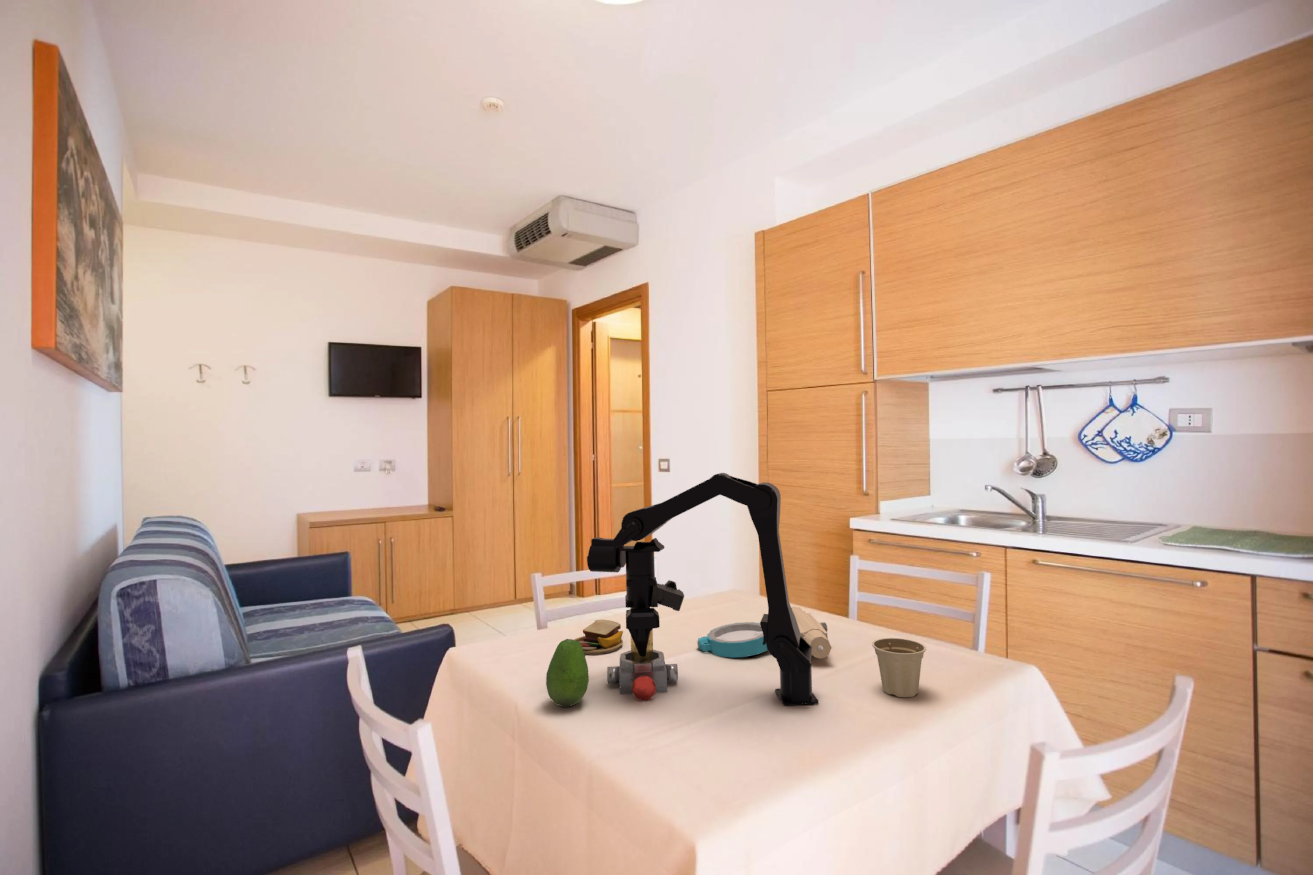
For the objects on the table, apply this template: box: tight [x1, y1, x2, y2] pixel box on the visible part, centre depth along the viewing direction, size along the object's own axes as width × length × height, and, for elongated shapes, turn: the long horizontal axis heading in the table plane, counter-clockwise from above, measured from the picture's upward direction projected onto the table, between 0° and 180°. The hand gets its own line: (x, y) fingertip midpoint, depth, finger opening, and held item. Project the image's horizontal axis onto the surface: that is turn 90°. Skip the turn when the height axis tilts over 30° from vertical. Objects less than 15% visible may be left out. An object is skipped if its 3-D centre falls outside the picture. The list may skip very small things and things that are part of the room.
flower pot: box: [871, 637, 927, 698], centre depth 116 cm, size 9×9×9 cm
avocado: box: [545, 638, 590, 707], centre depth 114 cm, size 8×8×12 cm
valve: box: [606, 649, 679, 702], centre depth 121 cm, size 13×14×6 cm
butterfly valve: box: [696, 605, 832, 659], centre depth 142 cm, size 27×7×30 cm
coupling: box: [630, 629, 654, 662], centre depth 122 cm, size 4×4×6 cm
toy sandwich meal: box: [573, 619, 624, 655], centre depth 146 cm, size 12×14×5 cm
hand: (642, 652), depth 122 cm, fingers closed on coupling, 4 cm apart
